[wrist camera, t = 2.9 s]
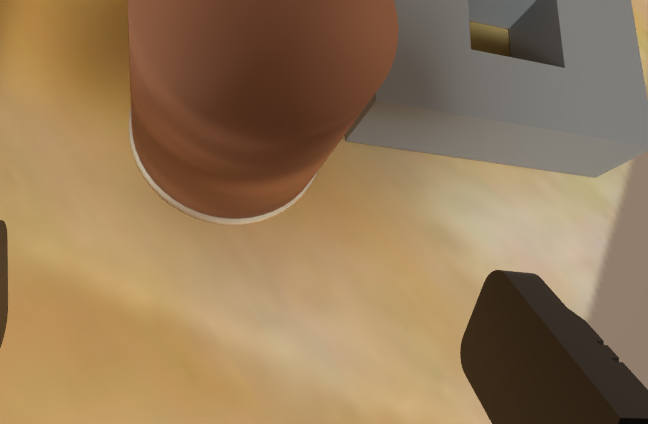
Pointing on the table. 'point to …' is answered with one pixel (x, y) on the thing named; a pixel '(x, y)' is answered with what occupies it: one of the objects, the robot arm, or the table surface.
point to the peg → (249, 96)
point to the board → (514, 86)
